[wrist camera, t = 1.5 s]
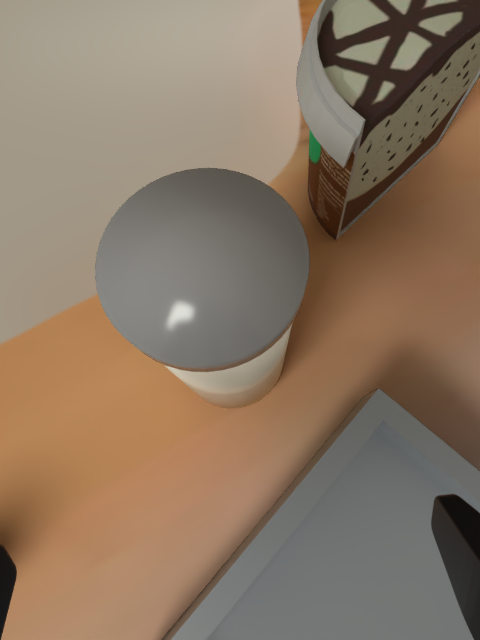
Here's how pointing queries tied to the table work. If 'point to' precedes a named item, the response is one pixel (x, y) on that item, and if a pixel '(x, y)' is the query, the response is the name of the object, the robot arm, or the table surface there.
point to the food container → (380, 94)
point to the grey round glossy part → (206, 280)
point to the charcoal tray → (347, 543)
